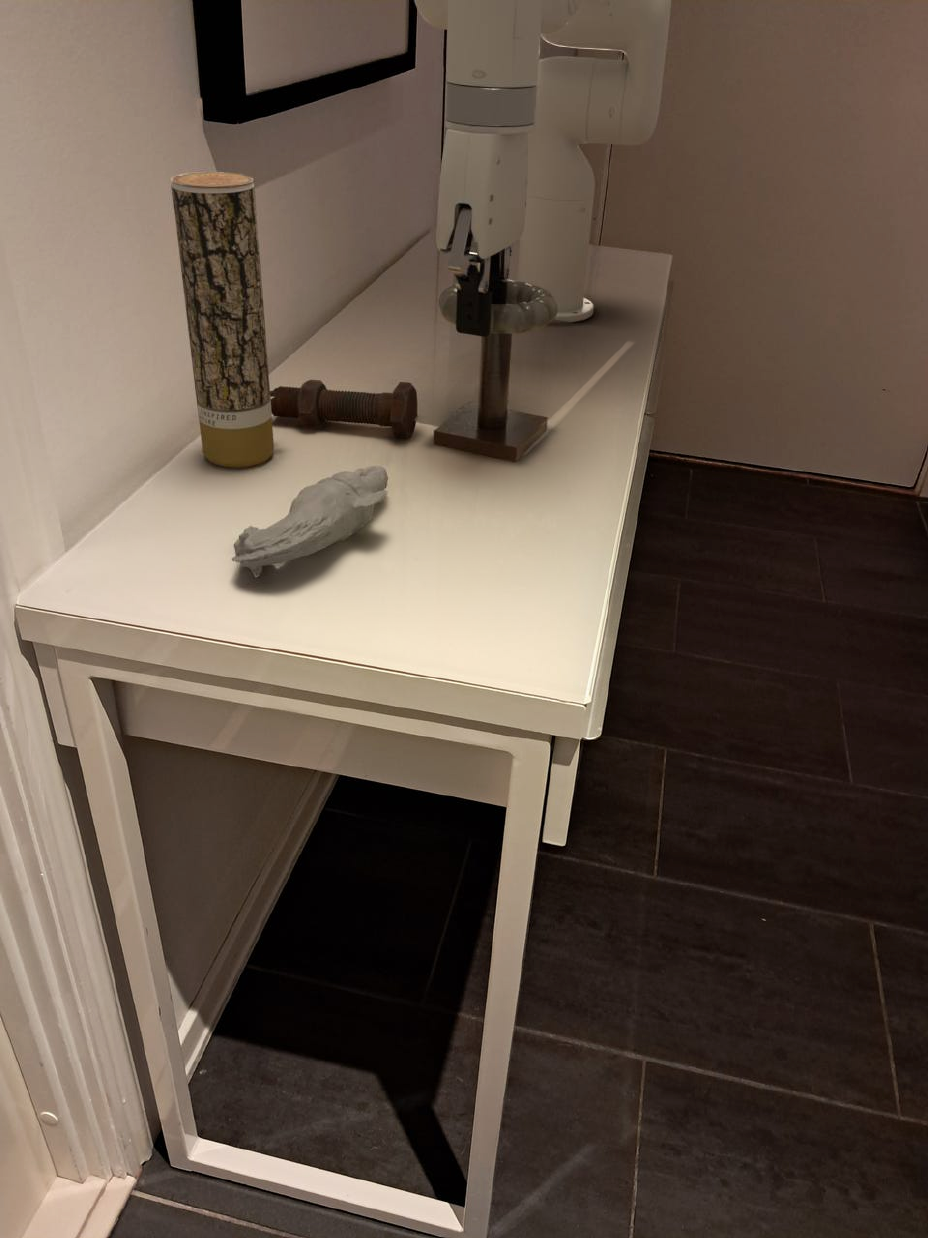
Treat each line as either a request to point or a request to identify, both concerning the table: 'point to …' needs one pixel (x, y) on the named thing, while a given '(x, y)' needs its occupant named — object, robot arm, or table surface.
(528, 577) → the table surface
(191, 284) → the paper tube
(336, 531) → the grey figurine
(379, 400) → the bolt
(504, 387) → the post
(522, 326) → the bracelet
